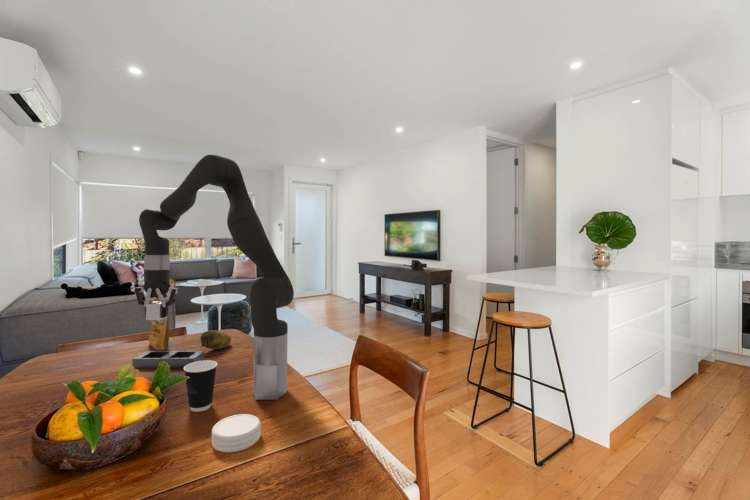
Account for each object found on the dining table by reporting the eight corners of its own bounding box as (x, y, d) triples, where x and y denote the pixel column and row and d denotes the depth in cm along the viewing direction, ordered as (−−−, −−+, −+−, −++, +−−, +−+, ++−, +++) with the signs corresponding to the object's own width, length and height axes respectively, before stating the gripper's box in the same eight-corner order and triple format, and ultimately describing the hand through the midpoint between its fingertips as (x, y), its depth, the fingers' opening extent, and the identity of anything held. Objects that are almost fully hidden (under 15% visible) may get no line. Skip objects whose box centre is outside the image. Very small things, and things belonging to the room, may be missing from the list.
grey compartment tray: (194, 367, 118) (194, 358, 118) (132, 368, 117) (132, 358, 117) (204, 359, 126) (204, 350, 126) (146, 360, 125) (146, 351, 125)
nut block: (159, 320, 119) (159, 303, 118) (145, 320, 118) (146, 303, 118) (166, 317, 123) (167, 301, 123) (153, 317, 123) (153, 301, 123)
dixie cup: (220, 398, 96) (220, 359, 96) (214, 412, 88) (214, 369, 88) (188, 401, 94) (188, 361, 94) (179, 416, 86) (179, 372, 86)
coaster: (245, 423, 84) (245, 408, 84) (269, 438, 78) (269, 423, 78) (203, 441, 76) (203, 425, 76) (226, 460, 70) (226, 443, 70)
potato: (237, 347, 140) (237, 328, 140) (205, 355, 131) (205, 334, 130) (227, 343, 146) (227, 324, 145) (195, 350, 136) (195, 330, 136)
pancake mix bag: (163, 338, 151) (163, 274, 150) (177, 349, 137) (176, 278, 136) (145, 342, 146) (145, 275, 145) (157, 353, 132) (157, 279, 131)
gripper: (128, 268, 116) (128, 319, 116) (173, 269, 117) (172, 320, 117) (142, 266, 123) (141, 314, 124) (183, 267, 124) (183, 315, 125)
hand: (156, 317), depth 121 cm, fingers closed on nut block, 4 cm apart
